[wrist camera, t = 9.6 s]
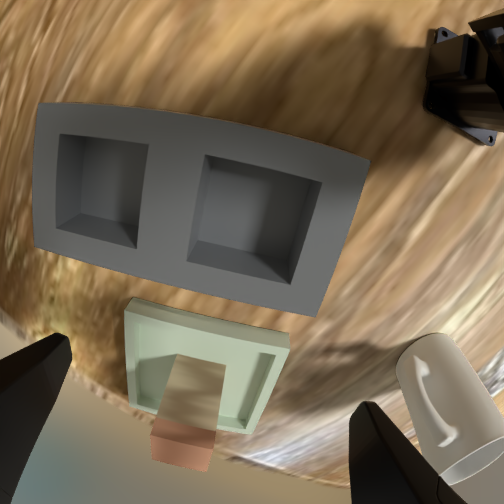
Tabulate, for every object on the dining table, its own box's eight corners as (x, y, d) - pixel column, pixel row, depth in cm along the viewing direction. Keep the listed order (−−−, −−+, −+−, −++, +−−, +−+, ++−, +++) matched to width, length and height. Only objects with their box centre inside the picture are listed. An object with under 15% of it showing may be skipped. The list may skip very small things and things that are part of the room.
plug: (226, 364, 23) (213, 449, 16) (218, 394, 25) (206, 472, 18) (177, 353, 23) (150, 434, 16) (174, 384, 25) (152, 459, 17)
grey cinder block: (349, 152, 17) (371, 160, 13) (307, 282, 21) (315, 317, 17) (75, 102, 16) (38, 102, 12) (66, 225, 20) (34, 246, 16)
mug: (465, 348, 23) (519, 442, 12) (414, 391, 25) (450, 489, 14) (417, 297, 21) (492, 417, 10) (355, 352, 23) (391, 482, 12)
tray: (289, 333, 22) (290, 349, 21) (252, 420, 27) (251, 434, 26) (133, 297, 22) (124, 310, 20) (134, 393, 27) (129, 406, 25)
